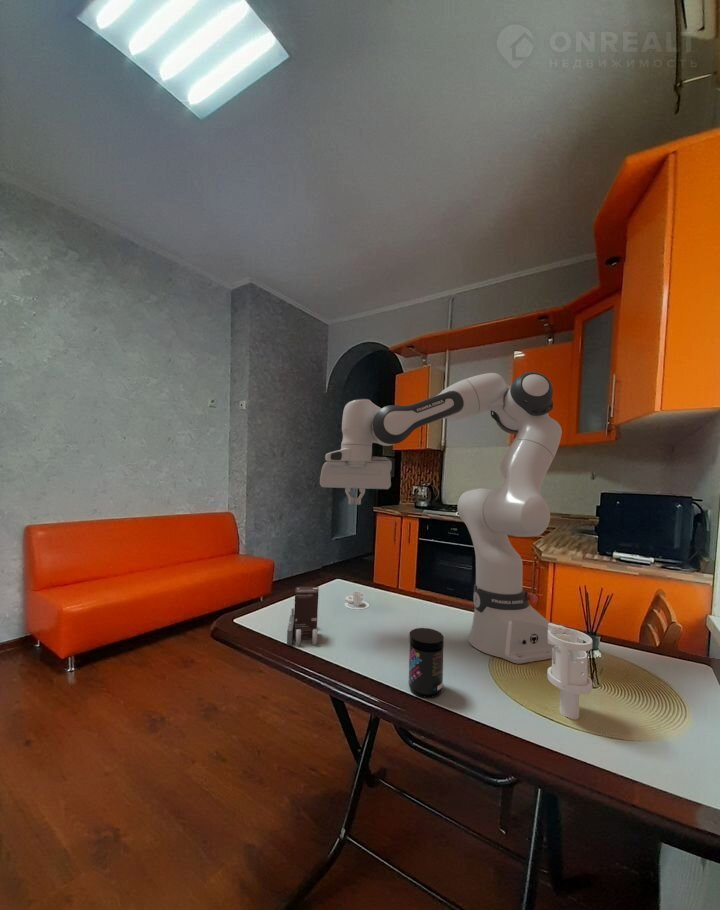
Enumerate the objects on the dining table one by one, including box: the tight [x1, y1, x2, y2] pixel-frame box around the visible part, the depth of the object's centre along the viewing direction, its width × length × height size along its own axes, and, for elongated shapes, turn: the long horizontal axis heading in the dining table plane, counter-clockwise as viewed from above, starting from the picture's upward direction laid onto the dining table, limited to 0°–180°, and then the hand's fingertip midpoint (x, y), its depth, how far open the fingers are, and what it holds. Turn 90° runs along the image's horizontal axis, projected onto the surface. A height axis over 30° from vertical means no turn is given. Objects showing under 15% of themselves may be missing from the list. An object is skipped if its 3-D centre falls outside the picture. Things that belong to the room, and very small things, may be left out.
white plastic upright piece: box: [546, 622, 593, 720], centre depth 65 cm, size 7×7×15 cm
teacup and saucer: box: [344, 591, 370, 610], centre depth 115 cm, size 9×8×4 cm
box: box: [293, 586, 320, 641], centre depth 92 cm, size 6×4×12 cm
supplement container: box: [408, 627, 445, 699], centre depth 71 cm, size 7×7×10 cm
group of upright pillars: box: [286, 607, 319, 647], centre depth 92 cm, size 7×10×5 cm
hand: (354, 504), depth 102 cm, fingers closed
